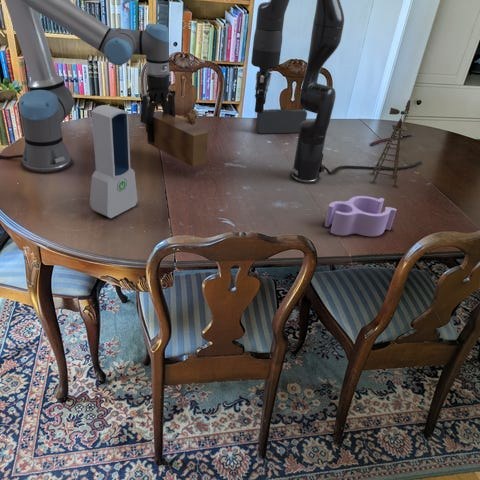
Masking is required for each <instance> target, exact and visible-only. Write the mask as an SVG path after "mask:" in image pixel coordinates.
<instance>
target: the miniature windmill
mask: <svg viewBox="0 0 480 480" xmlns="http://www.w3.org/2000/svg"><path fill="white" fill-rule="evenodd" d="M410 107H411V100H410V99H408V100H407V103H406V105H405V107H404V108H405V109H404V110H401V111H400V110H399V109H397V108H395V107H394V108H393V107H390V110H389V114H388V115H399V114H400V115H401V117H400V118H399V120H398V122H397V124H392V125H391V127H392V130H393V131H391V135H390V137H389V138H390V139H389V140H387V142H386V143H385V146H384V147H385V148H384V149H383V151H382V153H381V154H380V157H379V159H378V160H377V163H376V164H375V165H374V167H375V169H373V171H372V174H371V175H374V174H375V176H374V178H373V180H372V183H375V182H376V180H377V178H378V175H382V176H389V177H392V178H394V183H393V186H395V187H397V178H398V176H399V175H398V170H399V169H398V167H399V162H400V160H399V157H400V150H401V139H402V138H401V135H402V131H403V132H404V131H406V132H407V131H408V128H407V126H405V124H406V121H407V118H408V115H409V111H410ZM394 137H398V138H397V143H393V142H394V140H395V139H394ZM391 138H392V139H391ZM392 145H393V146H396V147H391V146H392ZM390 149H391V150H396V151H395V154H392V153H388V152H389V150H390ZM387 156H390V157H394V159H387ZM385 161H387V162H392V163H394V165H393V166H386V165H383V164H384V162H385ZM377 167H379V169H377ZM381 167H385V168H391V170H393V172H392V174H389V173H382V172H380V171H381V170H382V169H381ZM393 167H394V168H393Z"/></svg>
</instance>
